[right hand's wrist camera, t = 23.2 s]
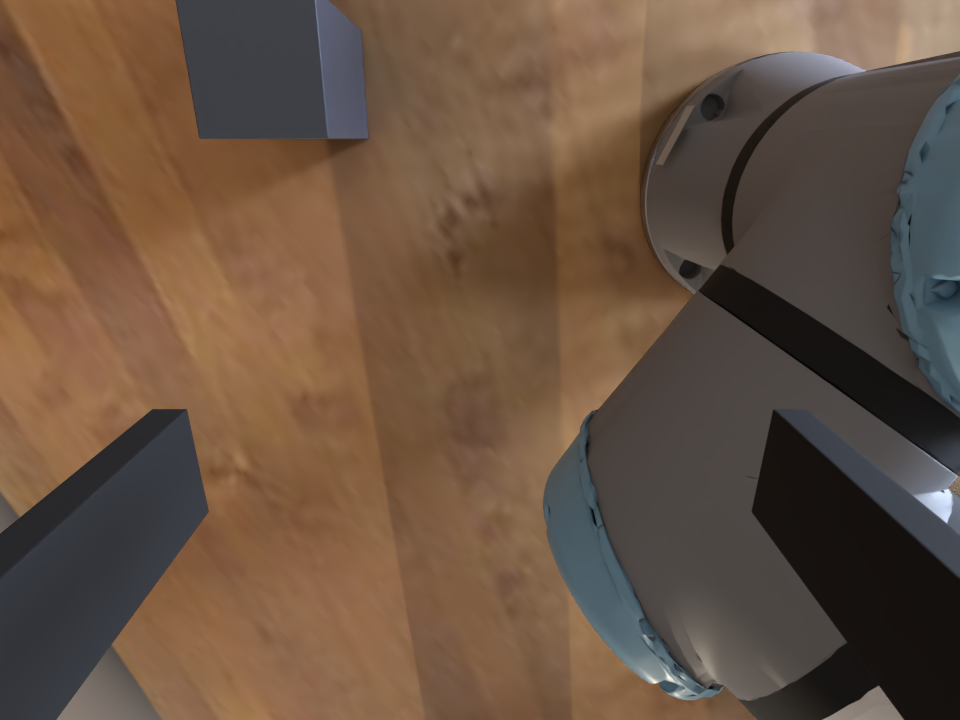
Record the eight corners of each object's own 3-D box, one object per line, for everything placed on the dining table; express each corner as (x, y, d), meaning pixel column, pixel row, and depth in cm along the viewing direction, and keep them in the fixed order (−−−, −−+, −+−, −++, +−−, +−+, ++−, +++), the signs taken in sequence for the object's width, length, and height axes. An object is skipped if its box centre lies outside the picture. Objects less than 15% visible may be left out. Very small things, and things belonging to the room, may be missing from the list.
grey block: (361, 29, 33) (314, -14, 24) (369, 139, 35) (328, 138, 26) (259, 30, 33) (172, -14, 24) (273, 139, 35) (198, 138, 26)
